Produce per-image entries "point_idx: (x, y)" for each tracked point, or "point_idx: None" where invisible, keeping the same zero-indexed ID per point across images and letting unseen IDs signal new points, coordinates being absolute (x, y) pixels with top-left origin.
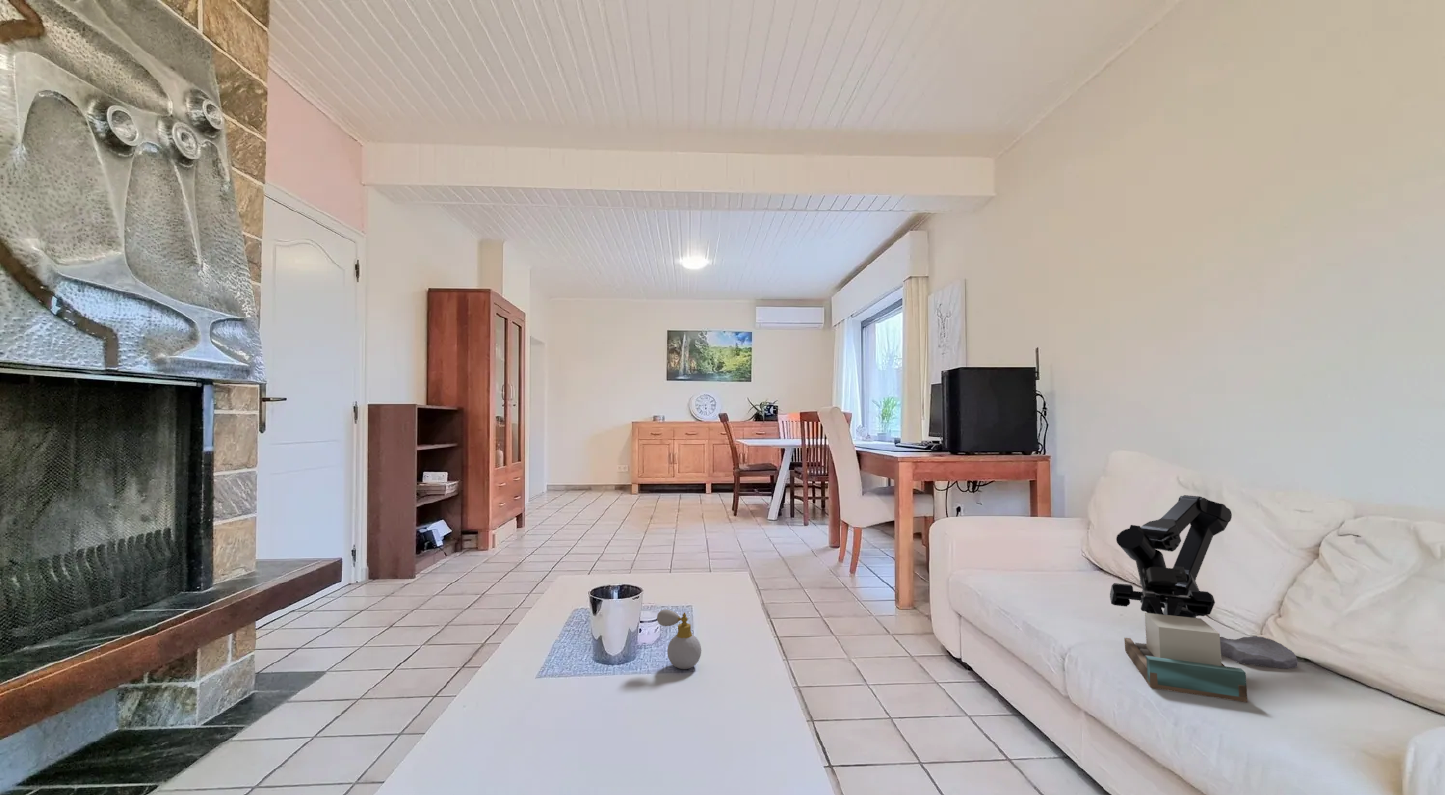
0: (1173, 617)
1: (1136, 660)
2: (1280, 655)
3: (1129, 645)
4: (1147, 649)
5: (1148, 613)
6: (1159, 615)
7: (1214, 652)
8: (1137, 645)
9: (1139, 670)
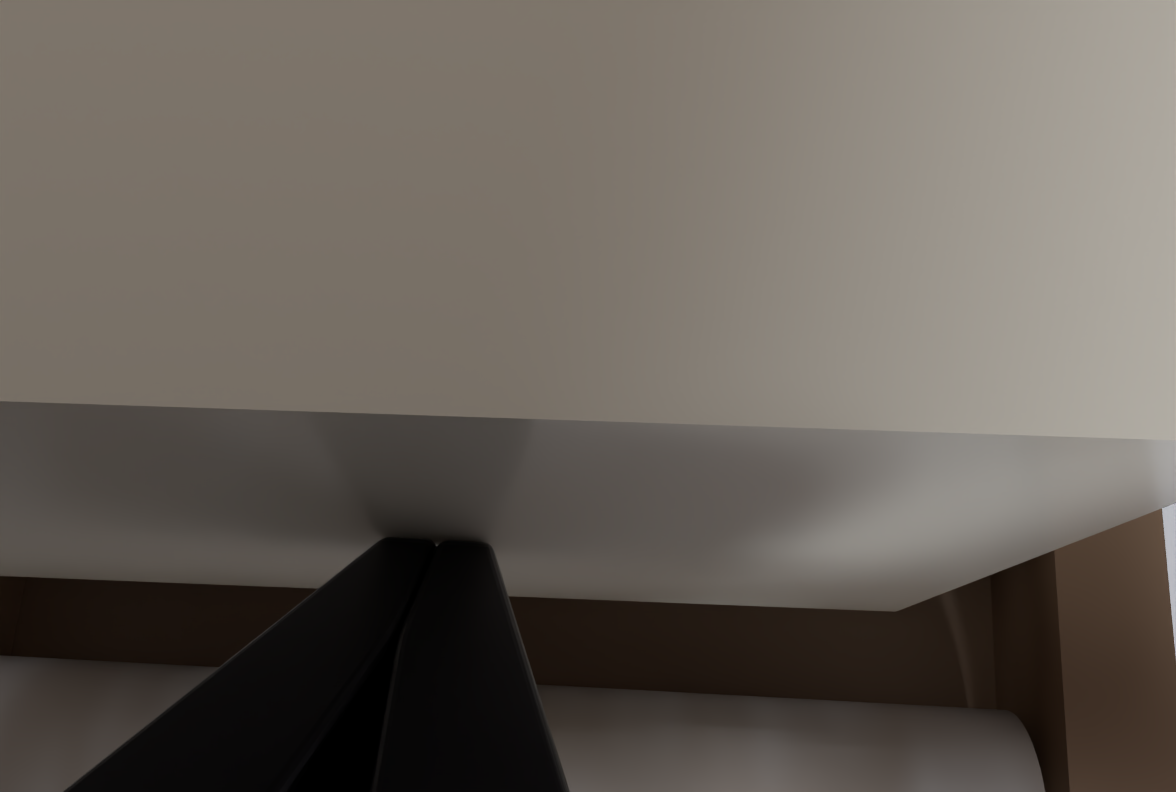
0: (227, 110)
1: None
2: None
3: (1171, 716)
4: (847, 711)
5: (1169, 358)
6: (740, 191)
7: None
8: (1026, 745)
9: None
